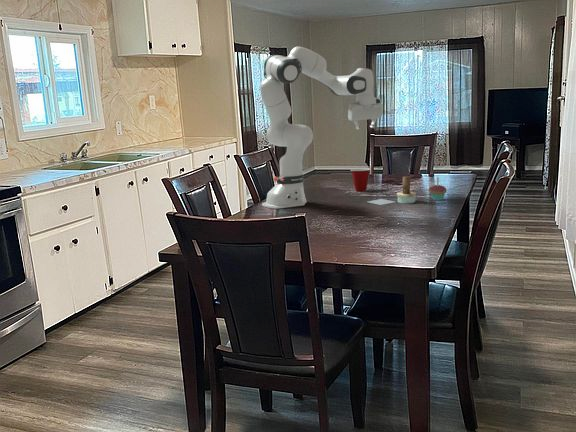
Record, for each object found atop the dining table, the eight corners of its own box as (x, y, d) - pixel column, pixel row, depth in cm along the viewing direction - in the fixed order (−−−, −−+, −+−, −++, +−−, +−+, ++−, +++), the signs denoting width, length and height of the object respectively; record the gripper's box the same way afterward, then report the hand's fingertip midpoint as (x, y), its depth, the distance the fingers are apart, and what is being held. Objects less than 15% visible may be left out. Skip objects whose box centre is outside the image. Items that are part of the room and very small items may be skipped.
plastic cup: (370, 188, 314) (370, 166, 312) (371, 192, 304) (371, 169, 301) (350, 188, 315) (350, 167, 313) (350, 192, 305) (350, 170, 302)
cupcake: (447, 201, 273) (447, 176, 271) (428, 201, 275) (429, 176, 272) (445, 197, 282) (446, 173, 279) (428, 197, 283) (428, 173, 281)
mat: (380, 205, 270) (380, 204, 270) (366, 202, 278) (366, 201, 278) (395, 202, 276) (395, 201, 275) (381, 199, 284) (381, 198, 284)
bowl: (406, 204, 270) (406, 197, 269) (394, 202, 276) (394, 195, 276) (418, 202, 274) (418, 195, 273) (406, 199, 281) (406, 192, 280)
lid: (406, 197, 268) (406, 179, 266) (392, 195, 276) (392, 177, 274) (419, 195, 273) (420, 176, 271) (406, 192, 281) (406, 174, 279)
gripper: (353, 102, 280) (353, 130, 283) (384, 99, 291) (384, 127, 294) (344, 102, 285) (345, 129, 288) (375, 99, 296) (375, 126, 299)
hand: (365, 128), depth 291 cm, fingers open, 8 cm apart
